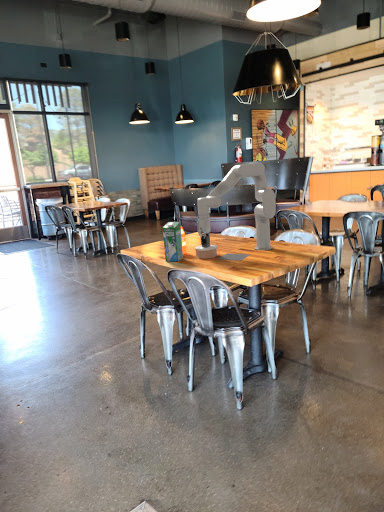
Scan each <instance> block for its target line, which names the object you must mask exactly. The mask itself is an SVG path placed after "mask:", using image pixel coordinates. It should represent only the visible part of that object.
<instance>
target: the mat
mask: <svg viewBox="0 0 384 512" xmlns="http://www.w3.org/2000/svg"><path fill="white" fill-rule="evenodd" d="M249 256H252V255H251V254H249V253H245V254H244V253H229V252H228V253H227V252H226V253H225V254H223V255H221V256H219V257H218V258H217V260H223V261H224V260H225V261H240V262H241V261H243V260H244V259H246V258H248V257H249Z"/></svg>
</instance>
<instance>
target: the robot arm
mask: <svg viewBox="0 0 384 512" xmlns="http://www.w3.org/2000/svg"><path fill="white" fill-rule="evenodd" d="M265 170H266V167H265V165H264V164H263V163H261V162H251V163H243V164H242V163H241V164H235V165H234V166H233V167H232V168H231V169H230V170H229V171H228V173H227V174H226V175H225V176H224V178H223V179H222V180H221V181H220V182H219V183H218V184H216V186H215V187H213V188H212V189H211V191H210V192H209V193H208V195H207V196H205V197H204V196H203V197H199V198H197V200H196V201H197V205H196V206H197V216H198V217H197V219H198V220H197V233H198V236H199V237H200V243H201V244H200V245H205V244H206V239H205V236H209V239H210V238H211V237H210V236H211V230H212V229H211V218H210V217H211V216H210V209H217V208H219V207H221V206H222V200H221V197H222V196H223V195H224V194H226V193H228V192H230V191H232V190H233V189H234V187H235V186H236V185H237V183H238V182H239V181H240V179H241V178H242V179H244V178H252V180H253V183H254V198H255V200H256V201H257V202H259V204H257V205H256V206H255V207H254V209H253V212H254V219H255V236H256V237H255V238H256V239H255V240H256V246H254V250H256V251H270V250H272V249H273V245H271V229H270V228H271V227H270V226H271V224H270V223H271V222H270V219H272V218H274V216H275V215H276V212H277V206H276V205H277V204H276V194H275V191H274V190H273V189H272V188H269V187H268V180H267V176H266V174H265ZM210 240H211V239H210Z"/></svg>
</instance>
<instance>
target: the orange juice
mask: <svg viewBox="0 0 384 512" xmlns="http://www.w3.org/2000/svg"><path fill="white" fill-rule="evenodd" d="M181 236H182V249H183V255H184V254H187V244H186V243H187V242H186V233H185V229H184V228H183V226H182V225H181Z"/></svg>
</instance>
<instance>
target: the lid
mask: <svg viewBox="0 0 384 512" xmlns="http://www.w3.org/2000/svg"><path fill="white" fill-rule="evenodd" d="M205 239H206V244H205V245H202V244H200V245H196V246H195V247H194V250H195V251H196V250H199V251H208V250H214V249H216V250H218V245H216V244H211V239H209V236H205Z"/></svg>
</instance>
